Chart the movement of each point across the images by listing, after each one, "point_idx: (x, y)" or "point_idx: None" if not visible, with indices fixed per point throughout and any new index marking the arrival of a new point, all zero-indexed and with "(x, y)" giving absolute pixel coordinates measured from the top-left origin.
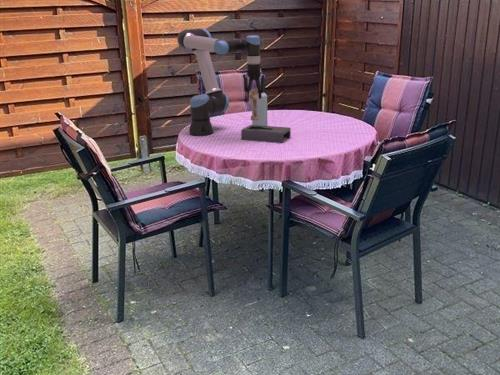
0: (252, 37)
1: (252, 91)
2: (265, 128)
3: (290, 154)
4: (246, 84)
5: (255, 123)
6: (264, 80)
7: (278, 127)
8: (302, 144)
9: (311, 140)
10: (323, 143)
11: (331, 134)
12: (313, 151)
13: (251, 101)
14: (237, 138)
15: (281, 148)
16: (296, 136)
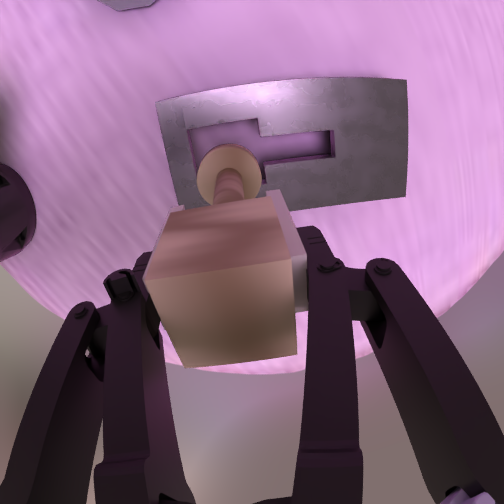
0: None
1: (233, 360)
2: (286, 133)
3: (430, 282)
4: (89, 418)
5: (123, 3)
6: (489, 412)
7: (349, 93)
8: (448, 168)
9: (460, 104)
10: (493, 134)
11: (481, 7)
12: (478, 230)
13: None
14: (160, 197)
15: (398, 243)
16: (395, 52)
